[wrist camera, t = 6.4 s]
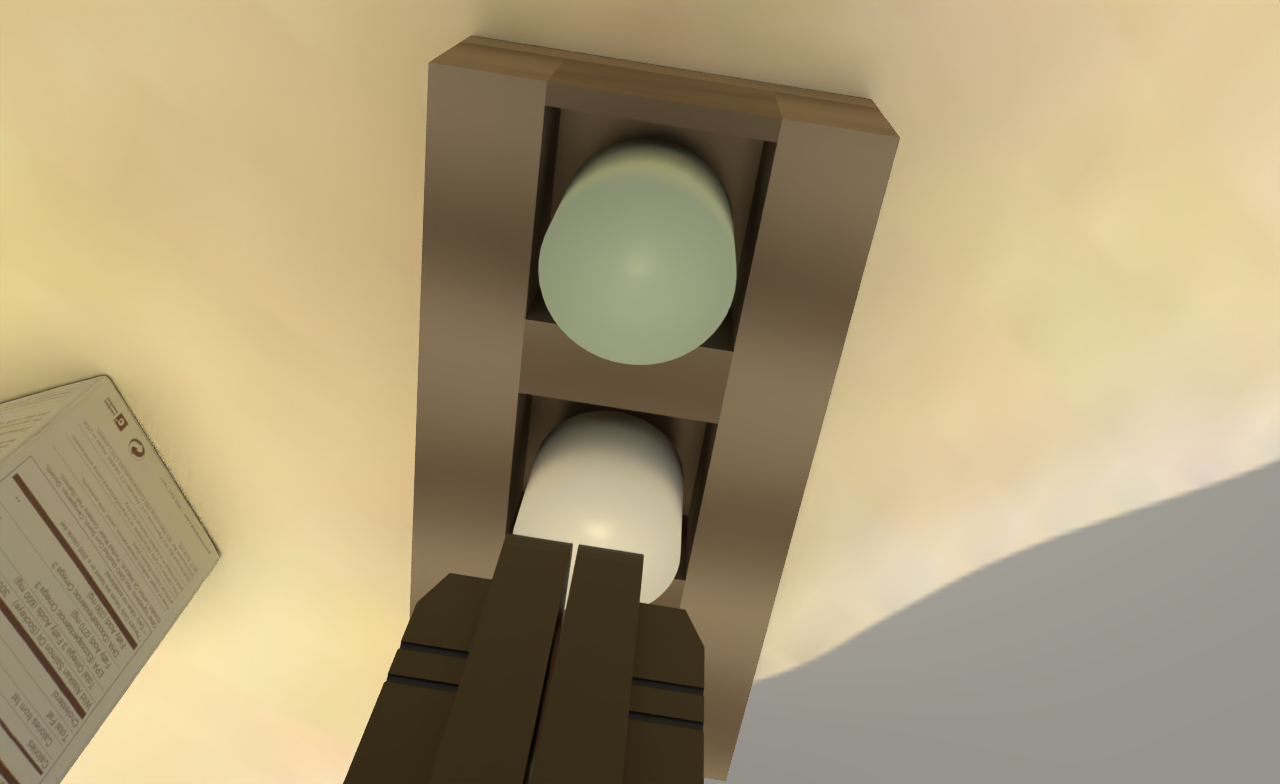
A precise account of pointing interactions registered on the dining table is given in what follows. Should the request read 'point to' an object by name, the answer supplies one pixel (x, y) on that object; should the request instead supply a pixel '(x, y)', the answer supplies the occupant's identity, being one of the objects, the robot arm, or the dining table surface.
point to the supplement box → (82, 569)
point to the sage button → (640, 253)
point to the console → (658, 393)
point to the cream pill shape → (609, 493)
